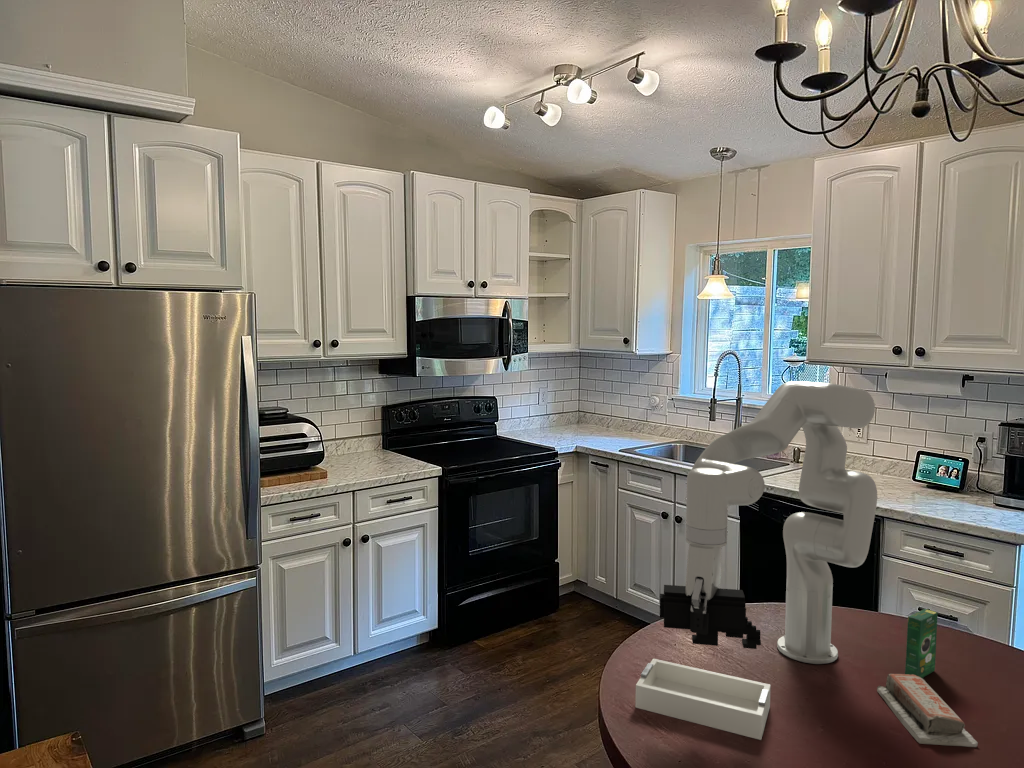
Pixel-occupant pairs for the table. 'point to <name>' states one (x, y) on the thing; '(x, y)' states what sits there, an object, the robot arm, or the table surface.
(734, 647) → the table surface
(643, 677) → the cradle
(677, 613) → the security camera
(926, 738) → the packaged product
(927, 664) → the coffee box
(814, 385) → the robot arm
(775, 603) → the table surface
